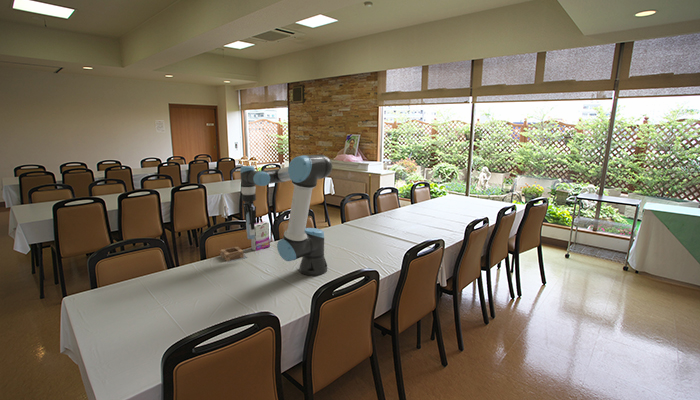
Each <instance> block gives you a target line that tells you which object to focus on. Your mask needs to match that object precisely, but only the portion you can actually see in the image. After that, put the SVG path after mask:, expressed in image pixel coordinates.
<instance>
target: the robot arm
mask: <svg viewBox="0 0 700 400" xmlns="http://www.w3.org/2000/svg"><path fill="white" fill-rule="evenodd" d="M332 171H333V163H332V161H331V159H330V157H328V156H327V155H324V154H309V155H305V154H304V155H298V156H295V157H293V158H292V159H291V161H290V162H289V164H288V166H287V167H286V166H285V167H281V168H277V169H267V170H255V167H254V165H244V166H243V165H242V166H241V167H240V172H239V173H240V175H239V176H240V189H241V190H240V192H241V201H242V202H244V203H242V208H243V219H244V221H245V226H246V229H247V221H246V214H247V213H248V212H249V219H250V223H249V227H250V235H255V225H254V224H256V223H257V206H255V204H254V202H255V201H256V200H257V198H256V197H257V195H256V189H257V186H259V187H264V186H265V187H266V186H267V185H268V184H269V185H271V184H277V183H285V182H289V181H291V183H292V185H293V194H292V201H291V204H290V205H291V206H290V212H289V219H288V225H287V229H286V230H285V231H284V233H283V237H282V238H280V240H278V241H277V244H276V248H277V251H278V254H279V256H280V257H281V259H282V260H284V261H285V262H291V261H295V260H298V259H301V261H300V264H299V267H298V268H299V273H301V274H302V275H305V276H312V277H313V276H320V275H323V274H325V273H327V271H328V263H327V260H326V258H325V232H324V231H323V230H322V229H320V228H315V227H307V222H308V216H309V210H310V205H311V199H312V193H313V189H315V188H316V187H317V184H318V183H317V182H318V180H322V179H325V178H327V177H329V176H330V175H331V173H332Z"/></svg>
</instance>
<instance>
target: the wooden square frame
mask: <svg viewBox="0 0 700 400" xmlns="http://www.w3.org/2000/svg"><path fill="white" fill-rule="evenodd" d="M243 254H244V250H243V249H241V248H240V247H239V246H232V247H227V248H222V249H220V255H221V256H220V257H221V258H222V259H223V260H225V261H226V262H227V261H230V260H234V259H239V258H244V255H245V254H244V255H243Z"/></svg>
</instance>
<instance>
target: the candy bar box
mask: <svg viewBox="0 0 700 400" xmlns="http://www.w3.org/2000/svg"><path fill="white" fill-rule="evenodd" d="M254 225H255V238H254V239H250V240H251V241H250V242H251V250H253V251H256V252H257V251H261V250H264V249H268V248H269V247H270V246H271V242H270V225H269V222H268V221H261V222H256V223H255V224H254Z"/></svg>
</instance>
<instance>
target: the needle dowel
mask: <svg viewBox="0 0 700 400" xmlns="http://www.w3.org/2000/svg"><path fill="white" fill-rule="evenodd" d="M246 221H247V228H246V235H247V240H251V239H254V238H255V235H250V227H249V223H250V219H249V212H248V213H247V214H246V220H245V222H246Z"/></svg>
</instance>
